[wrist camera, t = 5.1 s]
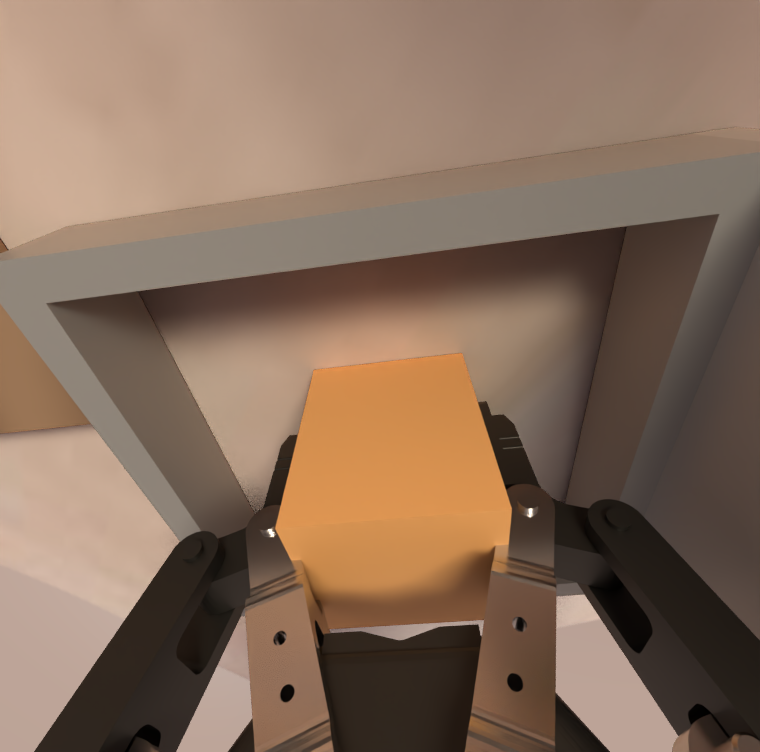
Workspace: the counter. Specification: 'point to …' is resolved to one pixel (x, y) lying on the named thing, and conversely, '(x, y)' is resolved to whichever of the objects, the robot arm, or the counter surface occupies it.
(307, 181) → the counter surface
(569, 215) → the case
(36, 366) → the board
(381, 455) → the block
